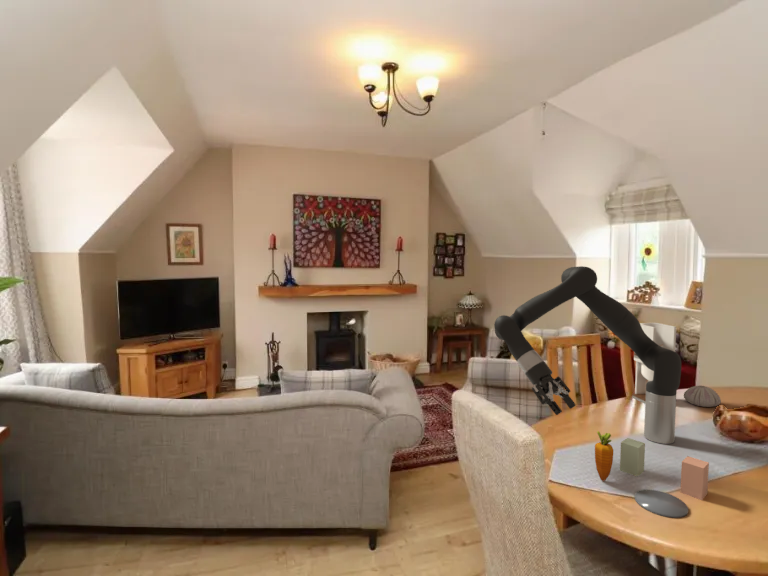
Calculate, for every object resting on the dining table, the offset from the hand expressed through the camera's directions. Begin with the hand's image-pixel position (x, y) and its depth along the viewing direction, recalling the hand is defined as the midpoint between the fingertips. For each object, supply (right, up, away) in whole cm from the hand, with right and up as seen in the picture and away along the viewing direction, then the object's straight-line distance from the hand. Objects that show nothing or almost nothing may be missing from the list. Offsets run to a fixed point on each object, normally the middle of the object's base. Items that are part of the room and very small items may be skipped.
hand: (566, 410), depth 133 cm
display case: (+64, -13, +59) cm, 88 cm away
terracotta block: (+30, -19, -14) cm, 38 cm away
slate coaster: (+17, -20, -19) cm, 32 cm away
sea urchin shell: (+84, -13, +56) cm, 102 cm away
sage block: (+19, -18, -2) cm, 27 cm away
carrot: (+8, -19, -8) cm, 22 cm away
